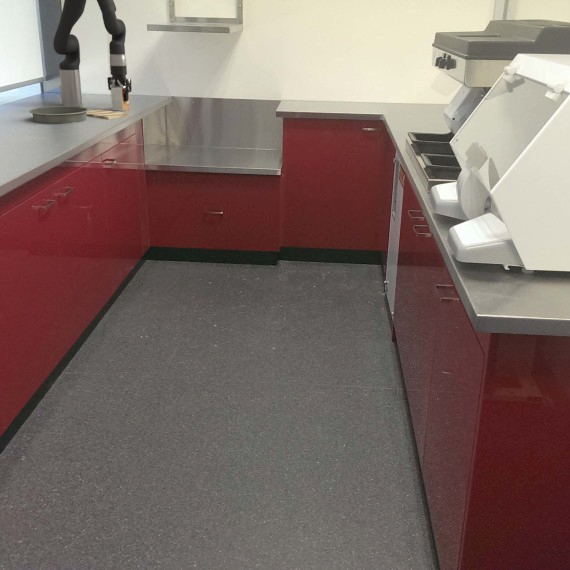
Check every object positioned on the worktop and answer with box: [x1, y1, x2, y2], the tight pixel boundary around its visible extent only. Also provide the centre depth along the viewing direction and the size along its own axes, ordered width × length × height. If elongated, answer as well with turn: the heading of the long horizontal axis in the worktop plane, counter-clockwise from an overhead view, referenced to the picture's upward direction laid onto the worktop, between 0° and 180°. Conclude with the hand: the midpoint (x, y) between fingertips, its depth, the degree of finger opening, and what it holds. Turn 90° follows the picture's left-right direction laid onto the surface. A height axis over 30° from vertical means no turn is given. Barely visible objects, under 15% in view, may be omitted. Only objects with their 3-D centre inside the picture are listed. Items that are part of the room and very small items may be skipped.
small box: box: [110, 87, 131, 112], centre depth 324 cm, size 8×6×10 cm
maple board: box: [86, 109, 132, 120], centre depth 308 cm, size 20×13×1 cm, turn 55°
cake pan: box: [28, 105, 90, 124], centre depth 294 cm, size 25×25×4 cm
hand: (120, 100), depth 324 cm, fingers closed on small box, 7 cm apart
